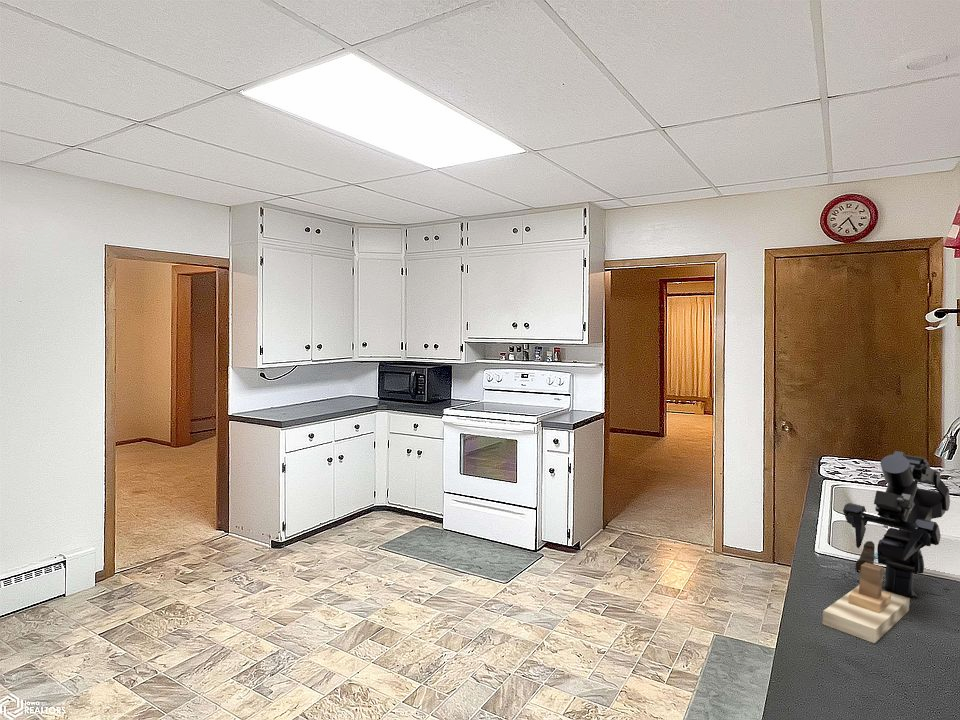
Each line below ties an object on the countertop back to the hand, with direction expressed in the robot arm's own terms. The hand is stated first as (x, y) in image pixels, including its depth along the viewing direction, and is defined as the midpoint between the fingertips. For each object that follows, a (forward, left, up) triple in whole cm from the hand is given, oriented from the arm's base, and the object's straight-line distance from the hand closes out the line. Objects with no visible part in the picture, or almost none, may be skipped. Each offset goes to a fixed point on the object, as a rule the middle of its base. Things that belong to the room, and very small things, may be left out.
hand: (879, 553), depth 140 cm
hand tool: (-33, +4, -14) cm, 36 cm away
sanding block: (+4, -2, -10) cm, 12 cm away
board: (+5, -3, -13) cm, 15 cm away
